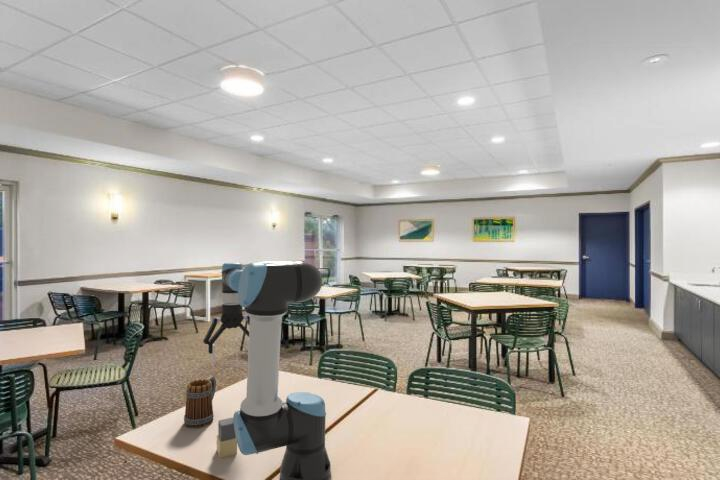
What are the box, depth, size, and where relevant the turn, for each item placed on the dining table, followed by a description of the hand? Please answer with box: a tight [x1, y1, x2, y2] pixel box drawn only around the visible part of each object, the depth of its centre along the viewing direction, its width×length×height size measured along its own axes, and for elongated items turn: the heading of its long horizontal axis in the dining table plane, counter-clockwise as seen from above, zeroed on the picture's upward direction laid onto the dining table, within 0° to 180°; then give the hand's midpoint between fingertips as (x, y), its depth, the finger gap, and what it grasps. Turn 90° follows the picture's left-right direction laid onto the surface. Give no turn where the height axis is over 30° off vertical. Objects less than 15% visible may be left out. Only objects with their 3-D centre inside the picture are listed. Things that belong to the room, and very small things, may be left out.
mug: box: [183, 376, 217, 429], centre depth 155 cm, size 16×11×15 cm
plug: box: [216, 416, 238, 459], centre depth 132 cm, size 5×5×10 cm
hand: (231, 359), depth 151 cm, fingers open, 13 cm apart
